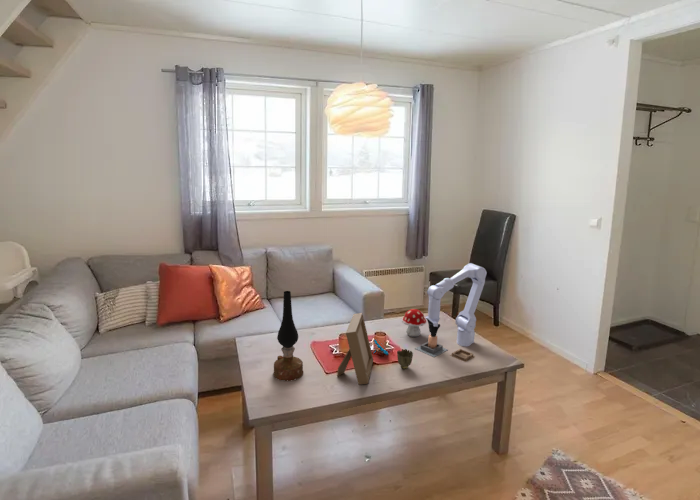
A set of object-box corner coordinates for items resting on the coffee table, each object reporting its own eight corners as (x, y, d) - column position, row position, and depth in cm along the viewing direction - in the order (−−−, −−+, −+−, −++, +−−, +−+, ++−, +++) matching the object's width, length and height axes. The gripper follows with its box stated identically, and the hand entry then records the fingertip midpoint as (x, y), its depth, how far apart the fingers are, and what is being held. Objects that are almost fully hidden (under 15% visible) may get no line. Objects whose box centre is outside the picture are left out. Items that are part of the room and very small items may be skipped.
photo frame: (373, 361, 205) (374, 313, 199) (368, 385, 184) (368, 332, 178) (343, 359, 207) (343, 311, 201) (334, 382, 186) (334, 330, 180)
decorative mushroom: (428, 332, 240) (430, 307, 236) (421, 341, 227) (423, 315, 224) (405, 327, 245) (406, 303, 242) (397, 336, 233) (398, 311, 230)
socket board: (428, 343, 225) (429, 338, 224) (447, 351, 217) (448, 346, 216) (414, 350, 217) (415, 344, 216) (433, 359, 209) (434, 353, 208)
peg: (426, 347, 219) (427, 334, 217) (435, 347, 219) (436, 334, 217) (429, 351, 214) (429, 338, 213) (437, 350, 214) (438, 338, 213)
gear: (390, 355, 207) (376, 341, 207) (381, 364, 208) (367, 349, 207) (388, 348, 218) (375, 335, 218) (380, 356, 219) (366, 342, 218)
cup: (402, 373, 194) (403, 357, 193) (393, 366, 201) (394, 350, 199) (415, 369, 198) (416, 354, 196) (406, 362, 204) (407, 347, 202)
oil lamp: (303, 386, 188) (320, 307, 176) (269, 383, 185) (284, 303, 173) (301, 367, 201) (317, 292, 189) (269, 365, 198) (283, 288, 186)
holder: (459, 351, 217) (459, 347, 216) (475, 358, 210) (475, 354, 210) (449, 357, 211) (449, 353, 210) (465, 363, 204) (465, 359, 204)
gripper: (424, 303, 219) (422, 328, 222) (428, 314, 205) (426, 340, 208) (437, 304, 219) (436, 328, 222) (442, 314, 204) (440, 340, 207)
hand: (432, 334), depth 215 cm, fingers open, 5 cm apart
